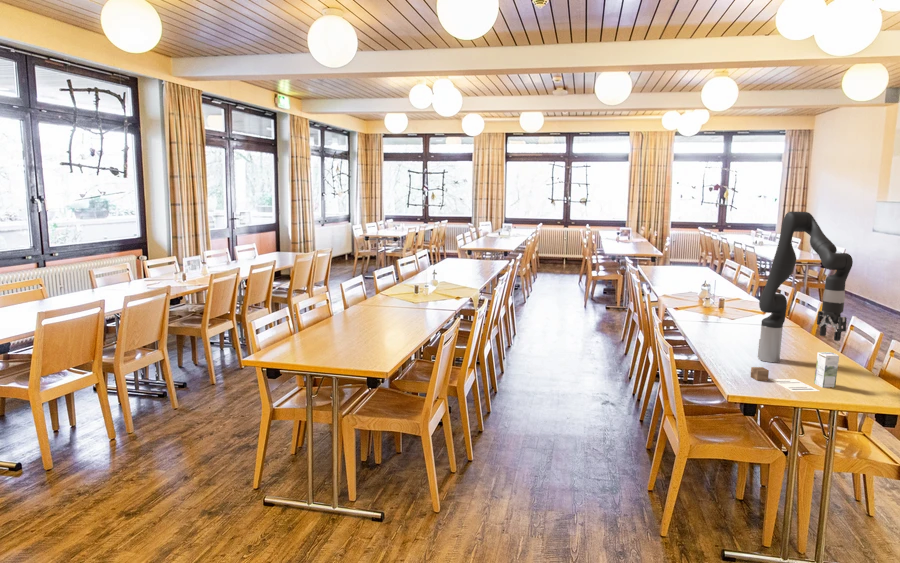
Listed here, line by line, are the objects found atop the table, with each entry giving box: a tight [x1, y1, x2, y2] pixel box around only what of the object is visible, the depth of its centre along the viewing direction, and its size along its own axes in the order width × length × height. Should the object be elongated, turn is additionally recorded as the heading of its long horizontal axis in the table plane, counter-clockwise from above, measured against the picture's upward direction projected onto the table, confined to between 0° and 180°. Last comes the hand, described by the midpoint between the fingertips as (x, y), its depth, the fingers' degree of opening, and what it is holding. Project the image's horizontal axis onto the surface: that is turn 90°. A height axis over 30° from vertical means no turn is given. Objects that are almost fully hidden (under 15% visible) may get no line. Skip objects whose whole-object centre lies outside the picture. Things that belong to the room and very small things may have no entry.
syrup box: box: [813, 351, 840, 389], centre depth 249 cm, size 6×6×14 cm
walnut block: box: [750, 366, 770, 382], centre depth 258 cm, size 5×5×5 cm
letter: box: [768, 378, 820, 393], centre depth 250 cm, size 16×12×1 cm
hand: (829, 338), depth 247 cm, fingers open, 8 cm apart
